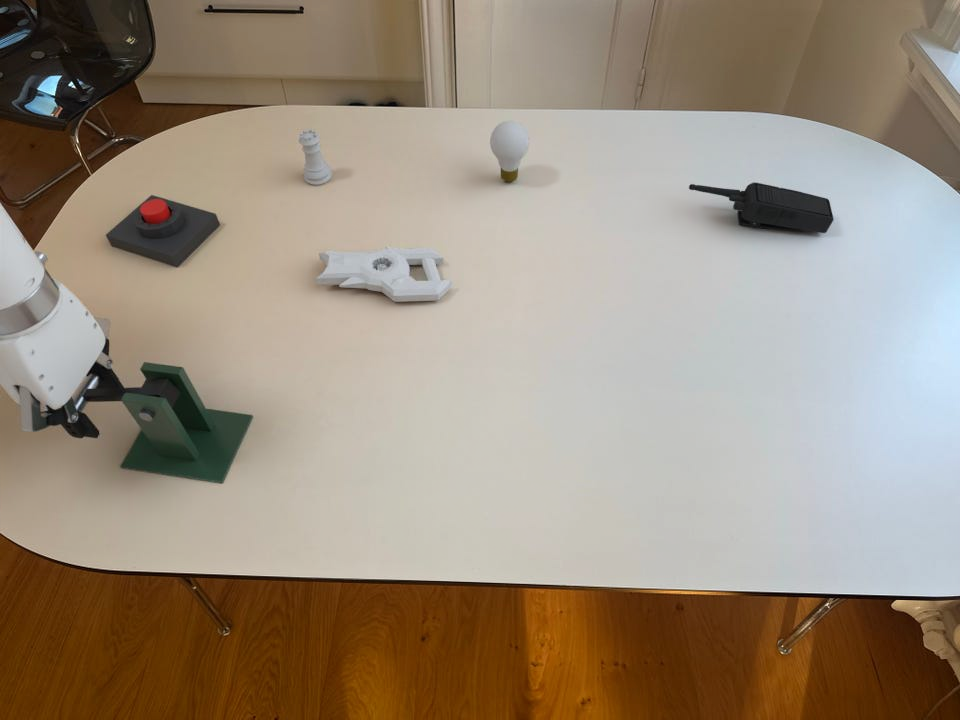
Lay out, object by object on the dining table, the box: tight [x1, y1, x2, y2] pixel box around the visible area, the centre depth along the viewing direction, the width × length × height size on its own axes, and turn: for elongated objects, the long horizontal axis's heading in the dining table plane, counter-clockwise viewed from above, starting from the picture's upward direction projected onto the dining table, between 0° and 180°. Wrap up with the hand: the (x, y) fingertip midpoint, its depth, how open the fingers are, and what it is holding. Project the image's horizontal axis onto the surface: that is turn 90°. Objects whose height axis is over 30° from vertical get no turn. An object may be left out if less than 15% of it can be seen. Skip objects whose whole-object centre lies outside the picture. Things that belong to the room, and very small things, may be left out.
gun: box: [315, 246, 453, 303], centre depth 96 cm, size 18×3×10 cm
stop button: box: [140, 199, 170, 224], centre depth 101 cm, size 4×4×2 cm
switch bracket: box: [120, 361, 254, 484], centre depth 76 cm, size 12×9×12 cm
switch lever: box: [72, 373, 181, 412], centre depth 74 cm, size 12×5×2 cm, turn 80°
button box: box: [105, 194, 221, 268], centre depth 103 cm, size 12×10×4 cm
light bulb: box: [489, 120, 530, 183], centre depth 107 cm, size 6×6×10 cm
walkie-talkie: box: [688, 182, 835, 234], centre depth 101 cm, size 6×6×20 cm
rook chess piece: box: [298, 128, 333, 186], centre depth 109 cm, size 4×4×8 cm
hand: (99, 411), depth 78 cm, fingers closed on switch lever, 5 cm apart
